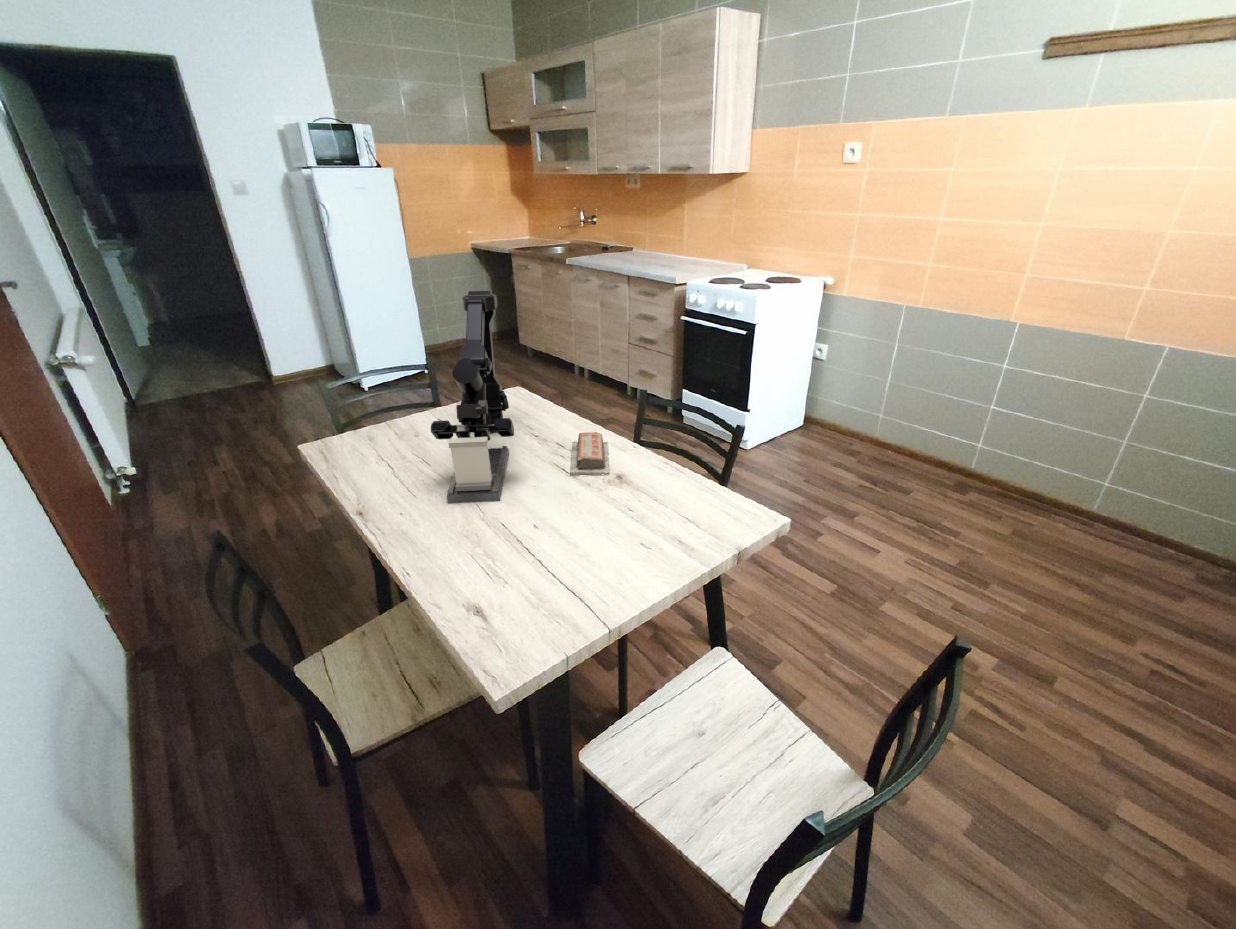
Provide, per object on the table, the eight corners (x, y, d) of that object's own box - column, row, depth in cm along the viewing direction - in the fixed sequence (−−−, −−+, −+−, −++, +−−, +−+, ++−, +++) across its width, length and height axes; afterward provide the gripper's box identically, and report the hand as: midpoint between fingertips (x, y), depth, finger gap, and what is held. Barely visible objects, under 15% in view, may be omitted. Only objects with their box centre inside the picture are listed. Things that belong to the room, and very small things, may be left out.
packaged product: (571, 430, 156) (607, 429, 157) (572, 446, 159) (607, 445, 159) (568, 460, 140) (609, 459, 141) (569, 477, 143) (609, 476, 143)
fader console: (464, 456, 153) (462, 447, 151) (509, 454, 154) (508, 445, 152) (447, 503, 132) (445, 492, 130) (499, 500, 132) (498, 490, 131)
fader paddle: (458, 480, 136) (451, 436, 131) (494, 479, 137) (488, 434, 131) (455, 491, 132) (447, 445, 126) (491, 489, 132) (485, 443, 127)
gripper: (425, 389, 129) (422, 454, 125) (507, 386, 130) (508, 450, 126) (437, 408, 140) (435, 468, 135) (514, 405, 141) (514, 464, 136)
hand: (473, 462), depth 133 cm, fingers closed, pressing on fader paddle
